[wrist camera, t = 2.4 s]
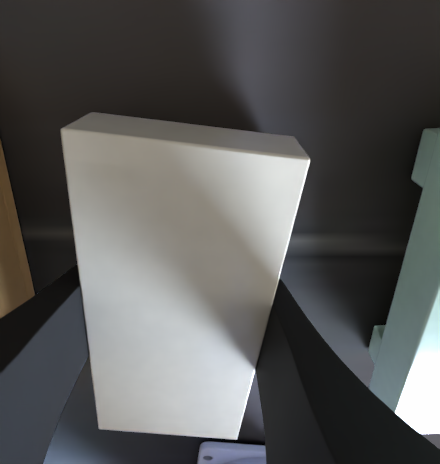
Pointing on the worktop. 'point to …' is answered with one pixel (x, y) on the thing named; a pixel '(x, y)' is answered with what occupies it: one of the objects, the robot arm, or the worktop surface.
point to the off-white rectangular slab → (177, 264)
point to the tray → (11, 250)
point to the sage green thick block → (415, 310)
